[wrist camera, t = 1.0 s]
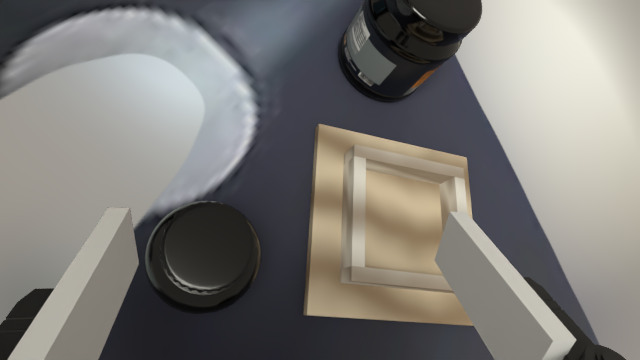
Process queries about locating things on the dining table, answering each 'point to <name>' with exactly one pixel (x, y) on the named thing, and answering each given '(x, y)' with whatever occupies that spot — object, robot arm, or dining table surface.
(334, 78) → the dining table surface
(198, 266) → the supplement bottle
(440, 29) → the supplement container
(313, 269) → the tray
